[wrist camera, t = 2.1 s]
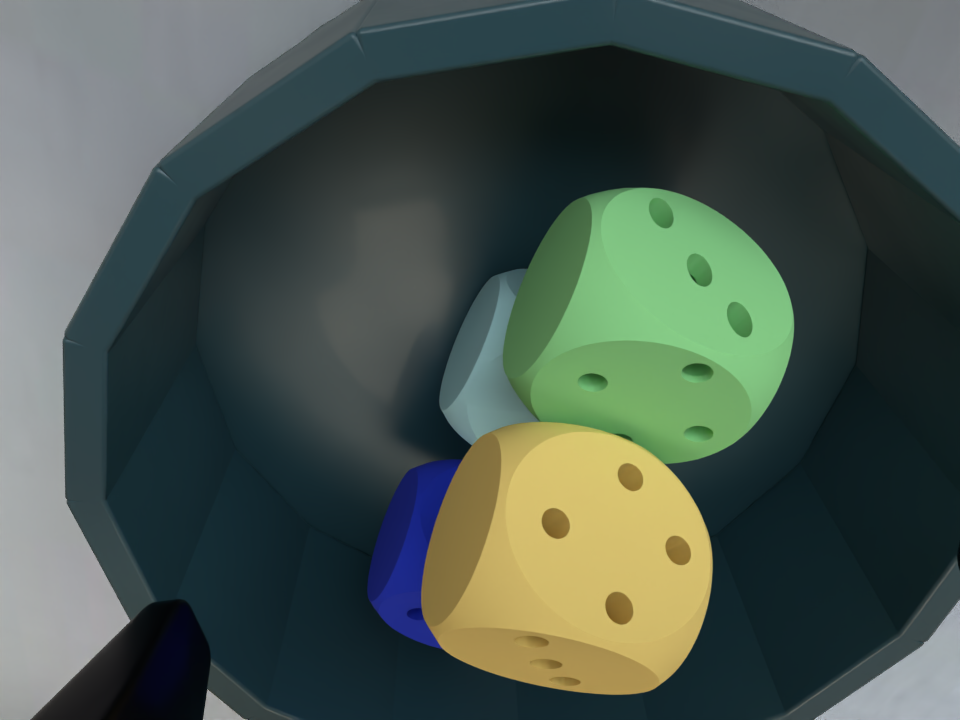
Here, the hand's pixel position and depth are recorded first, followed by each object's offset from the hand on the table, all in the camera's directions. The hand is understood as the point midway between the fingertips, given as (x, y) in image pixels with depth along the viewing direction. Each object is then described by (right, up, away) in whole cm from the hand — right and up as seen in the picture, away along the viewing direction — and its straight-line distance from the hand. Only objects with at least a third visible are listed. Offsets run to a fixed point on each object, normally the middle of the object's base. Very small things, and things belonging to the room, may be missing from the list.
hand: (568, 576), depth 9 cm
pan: (0, +3, +5) cm, 6 cm away
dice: (0, +3, +4) cm, 5 cm away
